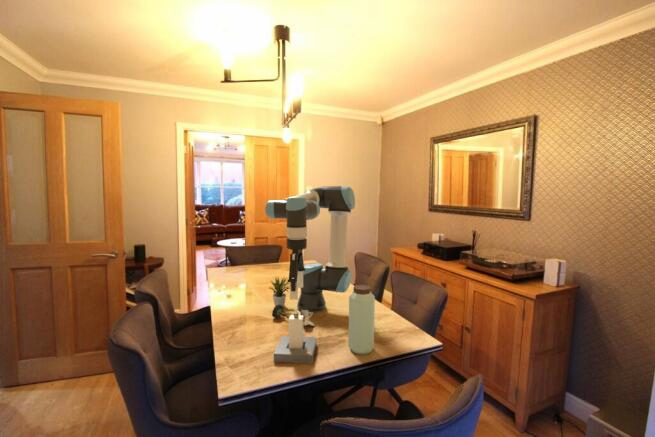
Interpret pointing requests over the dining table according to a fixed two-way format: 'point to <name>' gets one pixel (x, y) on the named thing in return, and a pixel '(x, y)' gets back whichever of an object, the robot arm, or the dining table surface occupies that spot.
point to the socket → (295, 351)
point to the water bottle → (361, 319)
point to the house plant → (279, 292)
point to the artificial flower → (279, 310)
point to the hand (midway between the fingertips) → (297, 293)
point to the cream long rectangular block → (296, 331)
